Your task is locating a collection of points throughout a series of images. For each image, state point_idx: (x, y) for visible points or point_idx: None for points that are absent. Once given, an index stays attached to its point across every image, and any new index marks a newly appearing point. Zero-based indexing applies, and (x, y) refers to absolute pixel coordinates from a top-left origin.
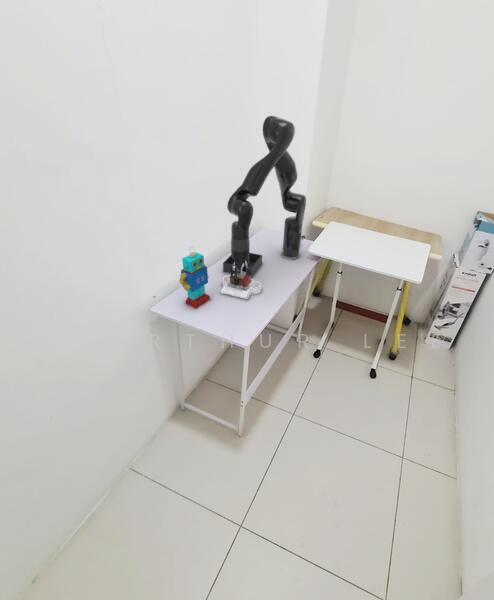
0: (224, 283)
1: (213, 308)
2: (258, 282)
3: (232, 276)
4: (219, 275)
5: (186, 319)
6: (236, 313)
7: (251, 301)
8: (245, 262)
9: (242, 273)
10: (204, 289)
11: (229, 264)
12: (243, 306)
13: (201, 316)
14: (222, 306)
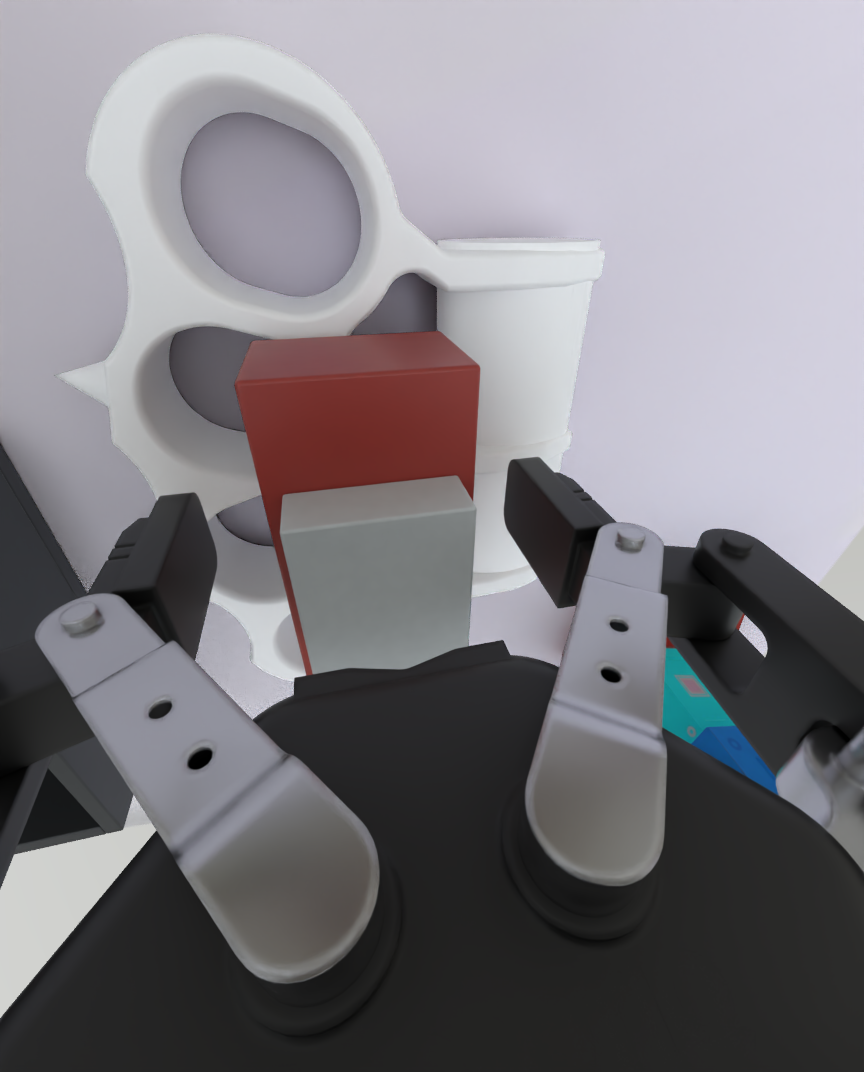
0: None
1: (719, 495)
2: (129, 161)
3: (731, 632)
4: None
5: (828, 569)
6: (808, 252)
7: (556, 148)
8: (339, 842)
9: (378, 557)
10: (664, 678)
11: (84, 788)
12: (680, 224)
13: (811, 514)
14: (689, 446)
